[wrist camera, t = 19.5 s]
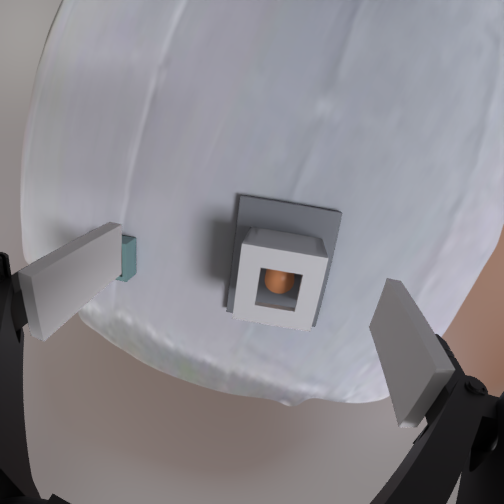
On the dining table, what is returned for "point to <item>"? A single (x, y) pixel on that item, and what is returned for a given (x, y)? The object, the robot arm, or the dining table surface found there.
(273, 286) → the button
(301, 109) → the dining table surface
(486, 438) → the robot arm
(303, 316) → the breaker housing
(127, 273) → the box
